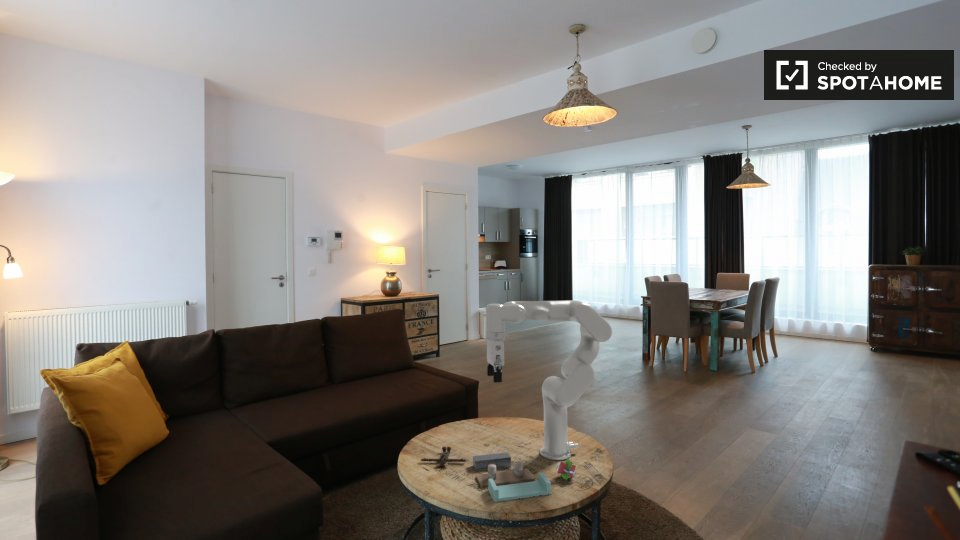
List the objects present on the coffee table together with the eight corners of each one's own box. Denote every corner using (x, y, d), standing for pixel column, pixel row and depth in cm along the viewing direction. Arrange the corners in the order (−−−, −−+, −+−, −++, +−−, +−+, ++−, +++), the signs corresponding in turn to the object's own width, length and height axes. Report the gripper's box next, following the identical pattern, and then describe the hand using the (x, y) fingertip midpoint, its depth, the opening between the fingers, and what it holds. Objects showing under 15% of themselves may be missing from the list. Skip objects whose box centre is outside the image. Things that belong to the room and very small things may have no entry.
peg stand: (527, 471, 178) (527, 456, 178) (535, 481, 170) (535, 466, 170) (476, 477, 173) (476, 462, 173) (481, 488, 166) (481, 472, 165)
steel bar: (507, 462, 186) (507, 452, 186) (511, 467, 182) (510, 457, 182) (473, 466, 183) (472, 456, 183) (475, 471, 179) (475, 461, 179)
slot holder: (542, 483, 169) (542, 472, 169) (550, 494, 161) (550, 482, 161) (488, 490, 164) (488, 478, 164) (494, 502, 156) (494, 490, 156)
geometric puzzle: (574, 465, 177) (562, 451, 176) (584, 473, 171) (572, 458, 169) (560, 479, 176) (549, 464, 174) (570, 488, 169) (558, 473, 167)
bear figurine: (468, 445, 195) (465, 458, 180) (468, 456, 195) (465, 469, 180) (425, 445, 196) (418, 457, 182) (425, 455, 196) (418, 468, 181)
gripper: (510, 339, 177) (509, 384, 177) (498, 331, 193) (497, 373, 194) (491, 339, 175) (490, 385, 175) (480, 332, 192) (480, 373, 192)
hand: (494, 378), depth 185 cm, fingers open, 9 cm apart
